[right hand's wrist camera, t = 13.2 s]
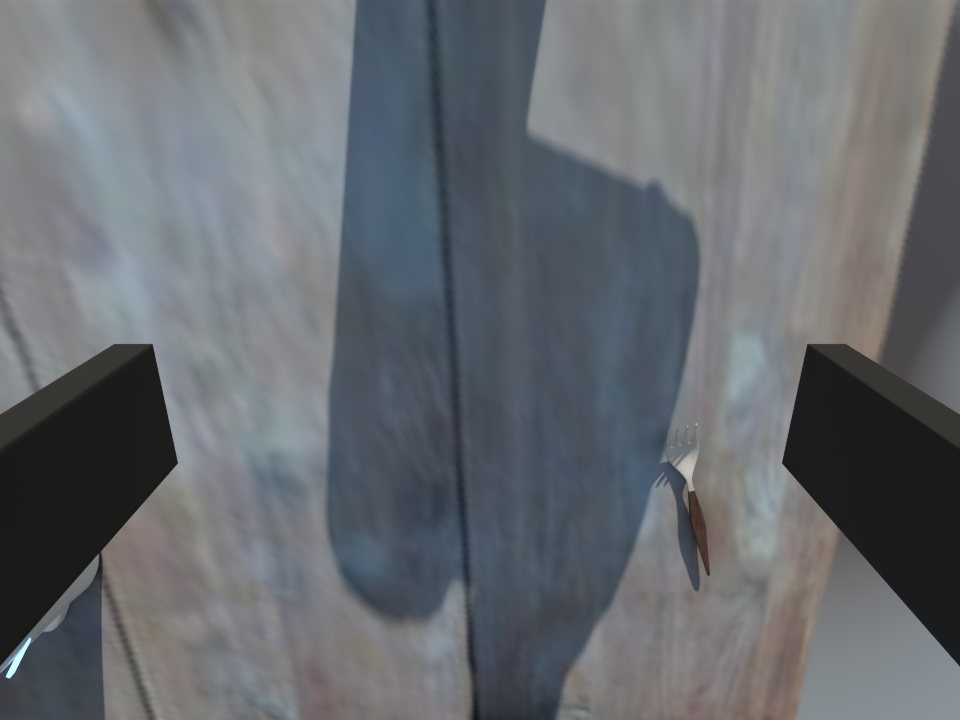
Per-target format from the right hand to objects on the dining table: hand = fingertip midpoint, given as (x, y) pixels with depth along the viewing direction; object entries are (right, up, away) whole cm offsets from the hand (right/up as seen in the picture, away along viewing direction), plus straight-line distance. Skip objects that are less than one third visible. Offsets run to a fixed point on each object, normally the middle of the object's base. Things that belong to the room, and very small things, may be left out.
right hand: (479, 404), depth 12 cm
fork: (+18, -11, +38) cm, 43 cm away
